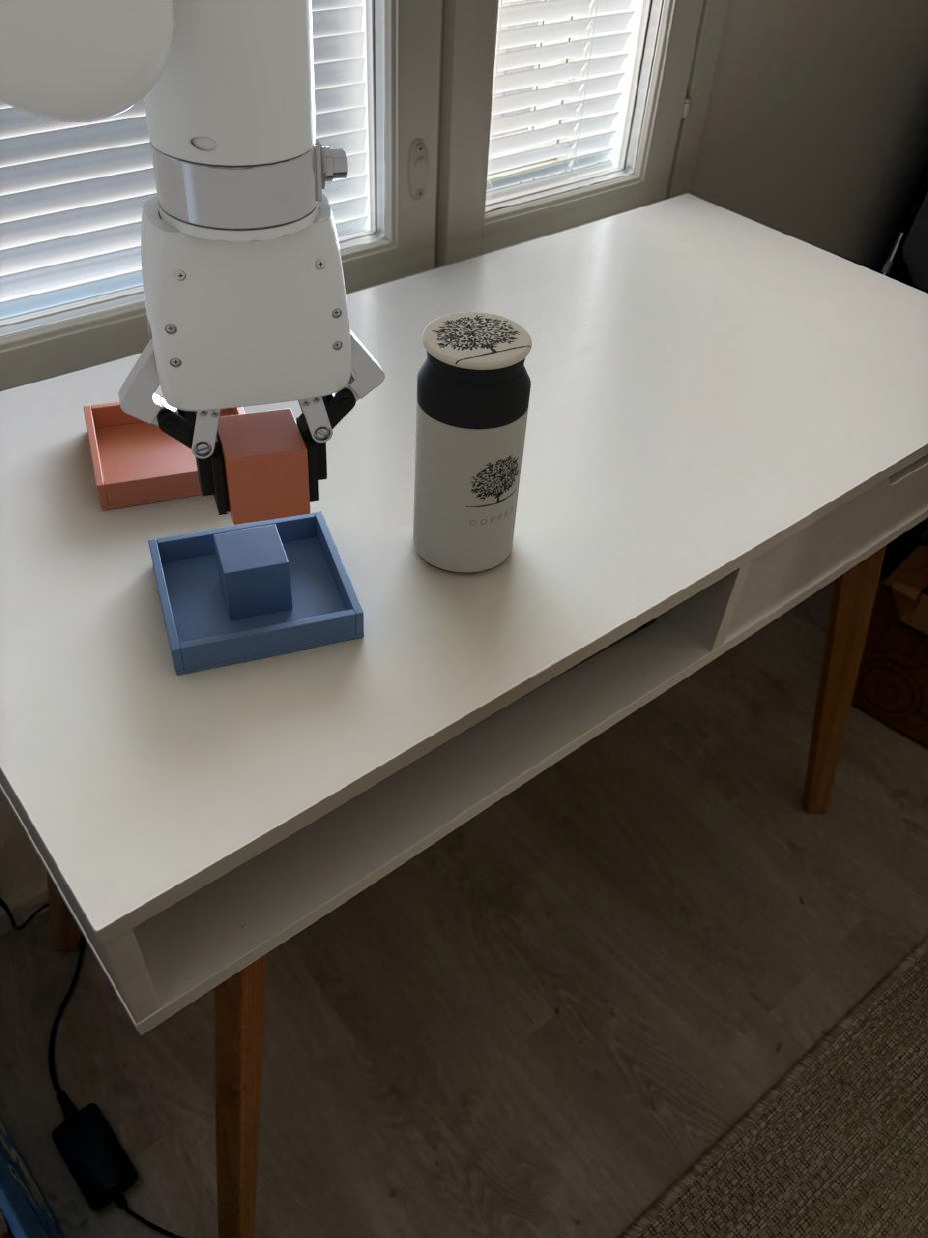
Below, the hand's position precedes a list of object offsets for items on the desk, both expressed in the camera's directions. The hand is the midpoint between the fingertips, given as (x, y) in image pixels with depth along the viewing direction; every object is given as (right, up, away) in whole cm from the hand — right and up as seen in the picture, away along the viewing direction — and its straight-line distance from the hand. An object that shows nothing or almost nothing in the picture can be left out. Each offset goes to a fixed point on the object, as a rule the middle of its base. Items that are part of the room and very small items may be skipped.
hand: (264, 492), depth 60 cm
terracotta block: (0, 0, 0) cm, 0 cm away
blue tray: (-4, -6, +15) cm, 16 cm away
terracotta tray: (-13, +7, +27) cm, 31 cm away
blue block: (-4, -6, +14) cm, 16 cm away
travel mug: (+12, -2, +21) cm, 24 cm away
